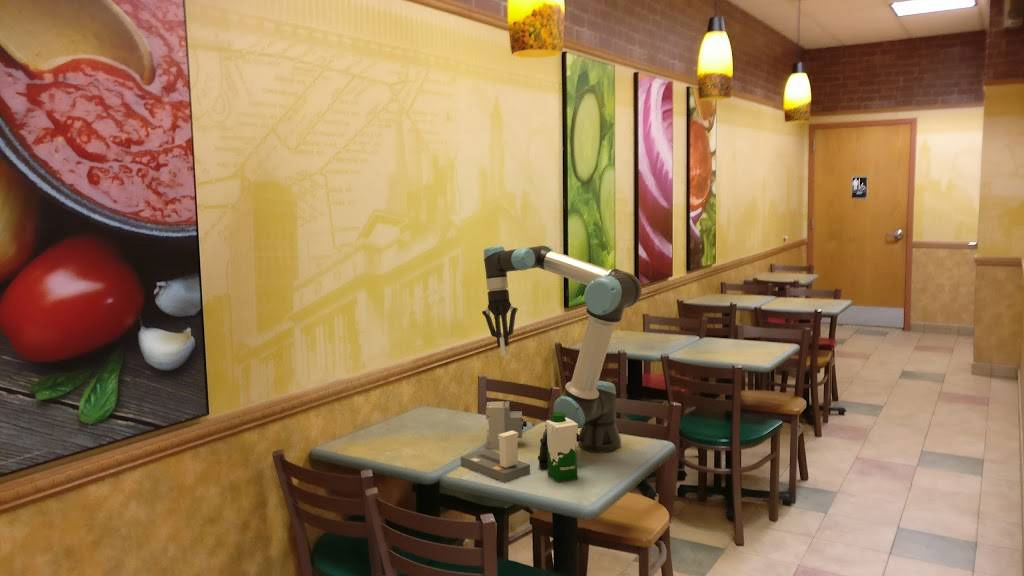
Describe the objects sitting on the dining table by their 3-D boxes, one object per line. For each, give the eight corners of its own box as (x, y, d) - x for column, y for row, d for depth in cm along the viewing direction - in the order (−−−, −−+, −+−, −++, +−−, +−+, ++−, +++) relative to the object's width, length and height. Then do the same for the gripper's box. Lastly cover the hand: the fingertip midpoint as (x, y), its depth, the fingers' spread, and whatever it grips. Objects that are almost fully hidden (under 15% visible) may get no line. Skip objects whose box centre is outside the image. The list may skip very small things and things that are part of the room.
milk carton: (568, 470, 260) (567, 410, 257) (581, 479, 251) (581, 417, 249) (544, 474, 256) (542, 414, 254) (556, 484, 248) (555, 421, 245)
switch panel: (460, 465, 267) (460, 456, 266) (486, 457, 274) (486, 448, 273) (504, 482, 250) (504, 473, 250) (530, 473, 257) (529, 464, 257)
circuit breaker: (527, 448, 282) (526, 406, 280) (486, 449, 282) (485, 407, 280) (527, 441, 289) (526, 401, 287) (487, 442, 290) (486, 401, 288)
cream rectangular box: (498, 465, 256) (497, 434, 254) (512, 461, 259) (512, 430, 258) (504, 468, 253) (504, 436, 252) (519, 463, 257) (518, 432, 256)
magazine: (528, 462, 263) (547, 420, 262) (564, 476, 266) (583, 435, 265) (530, 466, 260) (549, 424, 259) (567, 480, 262) (585, 438, 261)
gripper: (518, 287, 288) (524, 353, 288) (483, 291, 291) (490, 356, 291) (512, 288, 281) (519, 355, 280) (477, 291, 284) (483, 358, 284)
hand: (504, 355), depth 286 cm, fingers closed
